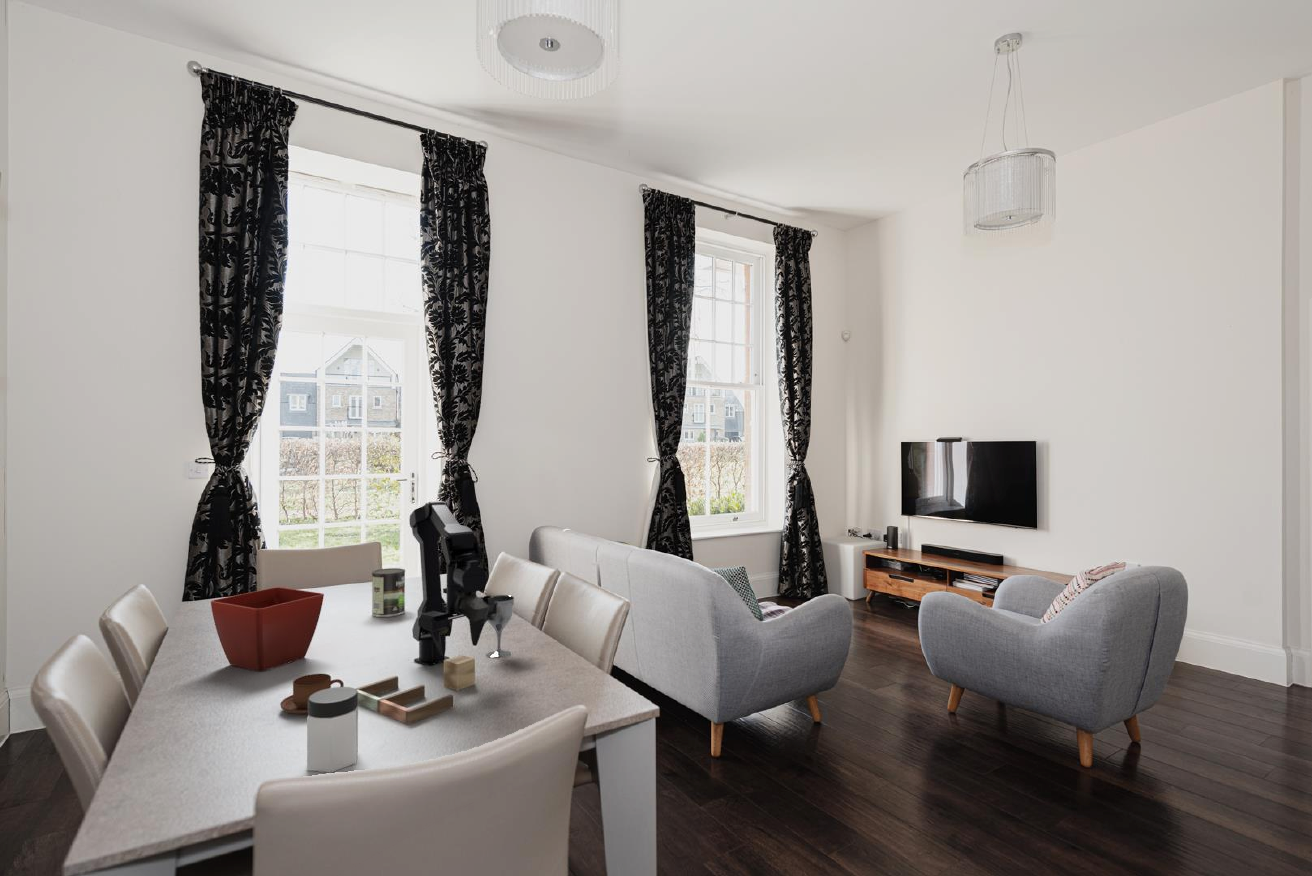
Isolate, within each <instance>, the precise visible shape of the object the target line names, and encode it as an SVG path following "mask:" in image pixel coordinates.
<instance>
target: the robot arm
mask: <svg viewBox="0 0 1312 876" xmlns="http://www.w3.org/2000/svg"><path fill="white" fill-rule="evenodd" d="M409 527H410V528H411V532H412V535H413V537H414V538H415V540H416V541H417V542H418V543H419V552H420V555H419V556H420V570H421V582H422V584H421V586H422V601H421V603H420V605H419V607H418V609H417V612H416V613H417V617H416V618H415V621H414V624H413V627H412V638H413V639H415V641H417V642H418V656H419V657H417V658H413V662H415V663H420V664H422V665H426V666H433V665H435V664H438V663H442V662H444V660H446V659H449V658H450V657H449V656H446V649H447V648H446V647H447V643H446V640H447V637H451V634H452V628H453V621H454V620H456V619H459V618H464V617H466V618H467V619H468V622H469V632H470V639H471V644H472V646H477V645H478V644H479V643H478V642H479V640H480V637H481V634H482V632H483V629H484V626H485V624H486V623H487V622H488V620H489V619H490V618H492V617H493V615H492V614H496V613H497V605H496V603H495V602H494V597H493V595H491V594H488V595H484V596H478V595H477V592H479V591H481V590H482V589H483V588H484V587H485V586H486V584H487V580H488V575H487V573H486V571H485V569H484V568H482V567H481V566H479V561H482V560H483V557H482V555H483V551H482V548H481V545H480V542H479V540H478V537H477V535H476V534H475V533H474V531H473V530H472V529H471V528H470V527H469V526H466V525H461V524H460V523H459V522H458V520H457V519H456V517H455V516H454V515H453V513H452V512H451V510H450V509H449V505H448V503H447V501H444V500H441V501H440V500H439V501H429V502H426V503H425V504H424V505H422V506H420V507H418V508H416V509H414V510H413V511H412V512H411V513H410V515H409ZM440 538H441V541H440V548H441V552H442V553H443V557H444V558H445V562H446V587H445V588H442V581H441V568H440V554H439V540H440ZM442 593H443V594H446V601H445V599H444V598H443V596H442V595H443V594H442Z"/></svg>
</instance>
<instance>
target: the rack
mask: <svg viewBox="0 0 1312 876" xmlns="http://www.w3.org/2000/svg"><path fill="white" fill-rule="evenodd" d="M397 688H399V676H398V675H395V676H391V677H387V678H385V679H381V680H378V681H376V682H373V683H368V684H366V685H362V686H360V687H357V688H355V689H356V690H357V691H358V706H359V705H360V706H362V707H365V708H366V709H370V710H372V711H374V712H377V713H379V714H382V715H384V716H386V717H389V718H392V719H395V720H397V721H399V722H402V723H404V724H407V725H411V724H413V723H416V722H418V721H421V720H424V719H426V718H429V717H432V716H433V715H436V714H438V713H441V712H444V711H446V710H447V711H448V710H449V709H452V708H454V695H453V694H447V695H446V696H442V697H440V698H437V699H434V700H432V701H429V702H428V701H427V702H425V703H423V704H420V705H418V706H415V707H412V708H408V707H405V705H407V704H408V703H412V702H414V701H417V700H420V699H423V698H425V696H426V693H425V692H426V686H425V684H421V685H418V686H415V687H412V688H409V689H406V690H405V689H404V690H403V691H399V692H397V693H394V694H391V695H388V696H385V697H382V698H381V697H379V696H377V695H380V694H383V693H386V692H389V691H392V690H395V689H397ZM403 705H404V706H403Z"/></svg>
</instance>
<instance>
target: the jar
mask: <svg viewBox="0 0 1312 876" xmlns="http://www.w3.org/2000/svg"><path fill="white" fill-rule="evenodd" d="M307 706H308V707H307V708H308V714H307V718H306V729H307V730H306V737H307V738H306V740H307V741H306V742H307V743H306V770H307V771H311V772H321V773H329V772H331V773H333V772H336V771H339V770H342V769H344V768H346V767H350V766H352V765H355V764H356V763H357V759H358V752H359V737H358V736H359V721H358V720H359V704H358V691H357V690H356V688H354V687H349V686H344V687H340V686H337V687H336V686H335V687H331V688H328V689H324V690H321V691H318V692H315V693H314V694H312V695H311V696H309V698H308V705H307Z"/></svg>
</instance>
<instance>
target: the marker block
mask: <svg viewBox="0 0 1312 876" xmlns="http://www.w3.org/2000/svg"><path fill="white" fill-rule="evenodd" d="M475 669H476V659H475V658H474V657H470V656H467V655H463V654H459V655H456V656H453V657H449V659H446V660H444V661H443V686H444V687H447V688H450V689H453V690H456V691H459V690H462V689H465V688H467V687H470V686H473V685H475V684H476V670H475Z"/></svg>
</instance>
